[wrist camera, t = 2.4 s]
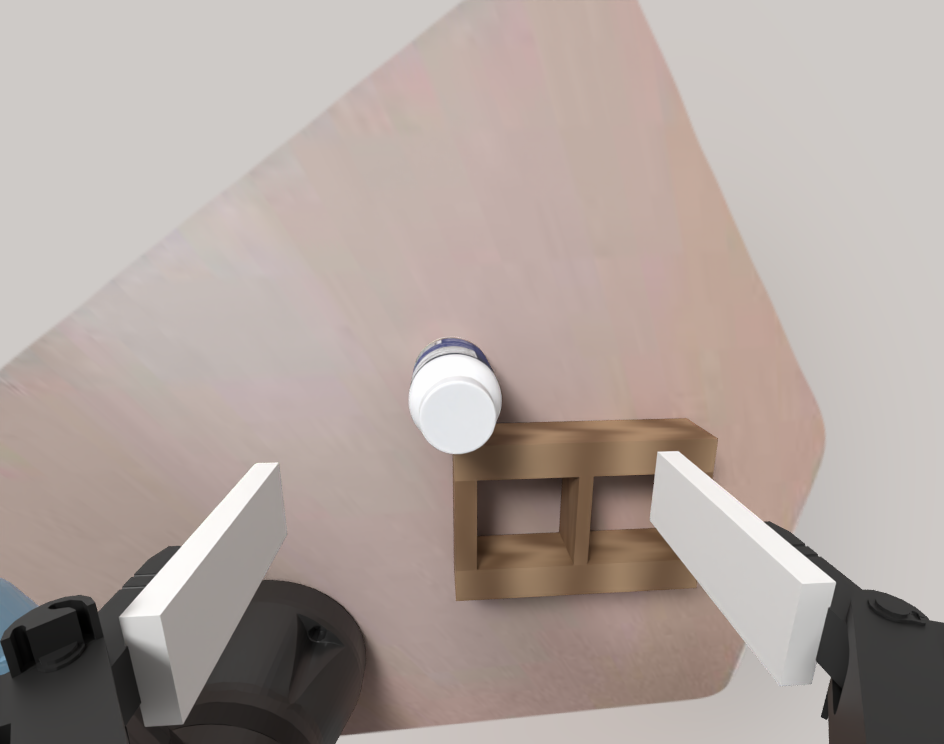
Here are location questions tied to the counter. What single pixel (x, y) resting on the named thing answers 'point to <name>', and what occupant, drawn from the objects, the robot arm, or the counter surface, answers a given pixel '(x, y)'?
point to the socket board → (570, 509)
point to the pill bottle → (454, 395)
